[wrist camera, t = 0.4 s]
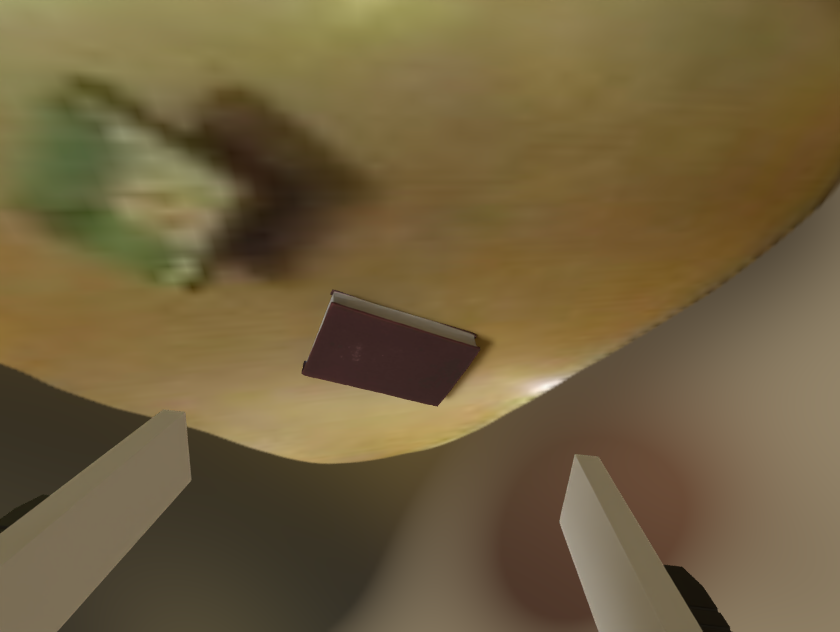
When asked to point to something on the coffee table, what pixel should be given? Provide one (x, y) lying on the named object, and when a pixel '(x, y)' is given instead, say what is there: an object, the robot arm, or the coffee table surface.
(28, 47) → the coffee table surface
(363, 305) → the book
